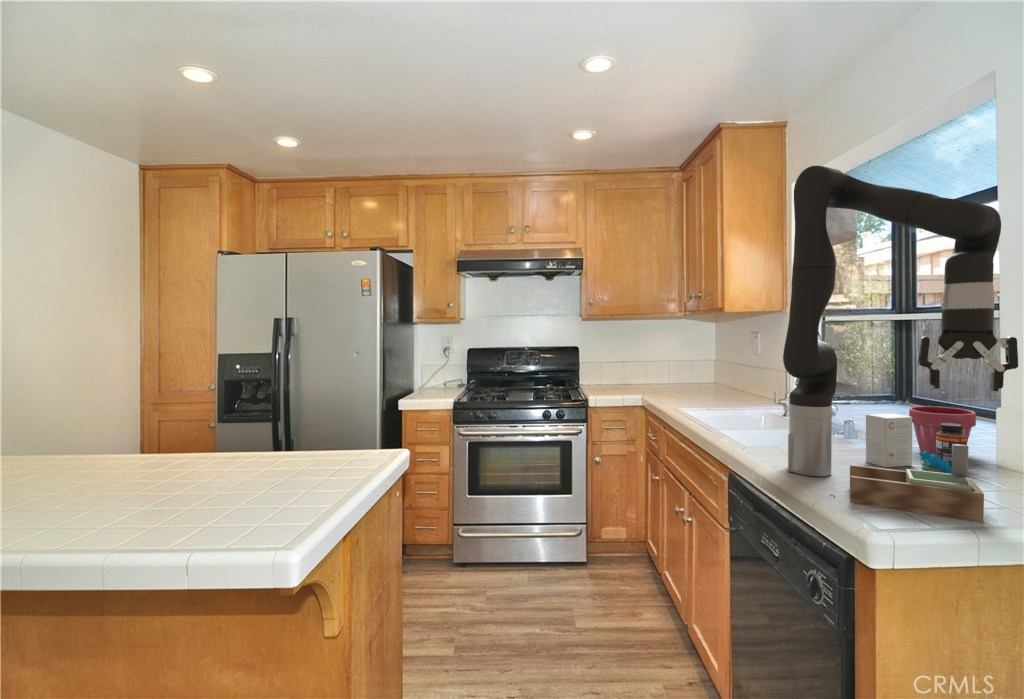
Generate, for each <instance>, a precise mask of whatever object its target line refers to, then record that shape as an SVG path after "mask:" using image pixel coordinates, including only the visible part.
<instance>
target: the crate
mask: <svg viewBox="0 0 1024 699" xmlns="http://www.w3.org/2000/svg"><path fill="white" fill-rule="evenodd" d="M905 471H906V483H913V484H921V485H929V486H937V487H945V488H953V489H961V490H969V491H972V485H971V484H970V483H969V481H968V480H967V479H966V478H969V445H968V444H967V445H961V444H952V474H948V473H939V472H930V471H922V469H921V470H919V469H912V468H911V469H910V468H905ZM965 477H966V478H965Z"/></svg>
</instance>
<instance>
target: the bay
mask: <svg viewBox="0 0 1024 699" xmlns="http://www.w3.org/2000/svg"><path fill="white" fill-rule="evenodd" d="M966 479H967V480H968V481H969V483H970V484H971V485H972V491H969V490H961V489H953V488H945V487H937V486H929V485H921V484H913V483H906V470H900V469H893V468H892V469H891V468H885V467H883V468H882V467H875V466H866V465H857V464H849V501H850V503H851V504H859V505H864V506H871V507H879V508H884V509H885V508H886V509H893V510H899V511H903V512H904V511H906V512H913V513H919V514H924V513H926V514H925V515H931V514H933V515H932V516H937V515H938V517H946V518H952V519H957V520H958V519H959V520H965V521H970V522H971V521H972V522H977V523H978V522H979V523H984V516H985V515H984V512H985V493H984V492H983V490H981V489H980V487H979V486H978V485H977V483H976V482H975V481H974V479H972V478H971V477H970V478H969V477H966Z"/></svg>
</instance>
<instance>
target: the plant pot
mask: <svg viewBox="0 0 1024 699" xmlns="http://www.w3.org/2000/svg"><path fill="white" fill-rule="evenodd" d="M908 414H909V415H908V416H910V417H912V425H913V429H914V432H915V436H916V441H917V444H918V447H919V453H920V452H921V451H922V452H925V451H927V452H929V453H930V454H931V455H932V454H935V455H936V434H937V432H939V431H940V430H941V424H942V423H953V424H959V425H962V430H961V431H962V433H964V434H965V435H966V436H967V443H968V442H969V439H970V435H971V431H972V428H974V427H976V425H977V414H976V412H975V411H974V410H970V409H964V408H958V407H951V406H950V407H949V406H934V405H933V406H932V405H923V406H922V405H921V406H920V405H918V406H916V405H915V406H911V407H909V412H908Z"/></svg>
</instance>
